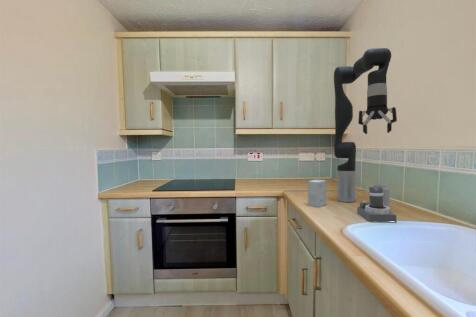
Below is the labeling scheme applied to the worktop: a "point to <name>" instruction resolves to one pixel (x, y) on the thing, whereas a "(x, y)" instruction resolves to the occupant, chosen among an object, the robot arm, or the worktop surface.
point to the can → (385, 193)
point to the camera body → (375, 212)
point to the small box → (317, 193)
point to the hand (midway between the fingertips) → (377, 133)
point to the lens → (376, 197)
